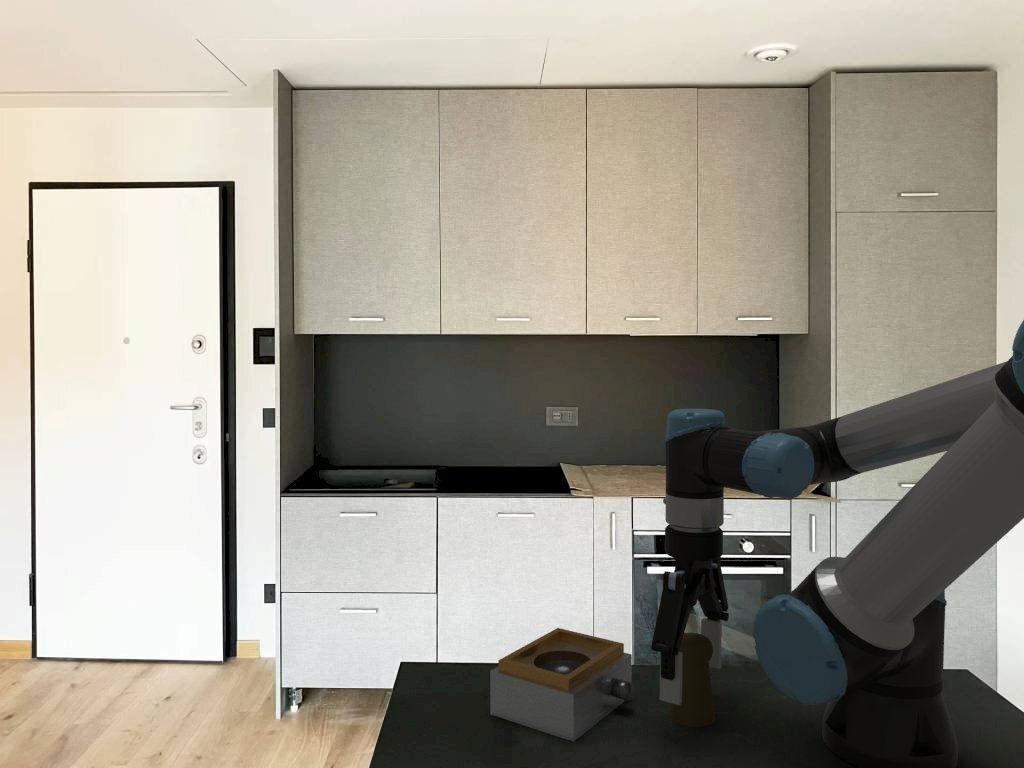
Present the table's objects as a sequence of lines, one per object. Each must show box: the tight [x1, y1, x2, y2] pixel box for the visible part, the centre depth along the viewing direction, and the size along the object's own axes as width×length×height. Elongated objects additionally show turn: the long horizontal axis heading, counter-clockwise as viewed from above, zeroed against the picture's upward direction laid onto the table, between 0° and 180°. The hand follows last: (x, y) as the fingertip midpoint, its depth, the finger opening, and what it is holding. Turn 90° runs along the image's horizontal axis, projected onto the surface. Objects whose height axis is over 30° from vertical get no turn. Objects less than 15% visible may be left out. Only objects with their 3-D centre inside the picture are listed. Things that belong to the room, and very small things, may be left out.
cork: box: [668, 632, 716, 728], centre depth 107 cm, size 6×6×11 cm
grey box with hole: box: [489, 627, 636, 743], centre depth 110 cm, size 15×16×8 cm
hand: (691, 683), depth 107 cm, fingers open, 13 cm apart
